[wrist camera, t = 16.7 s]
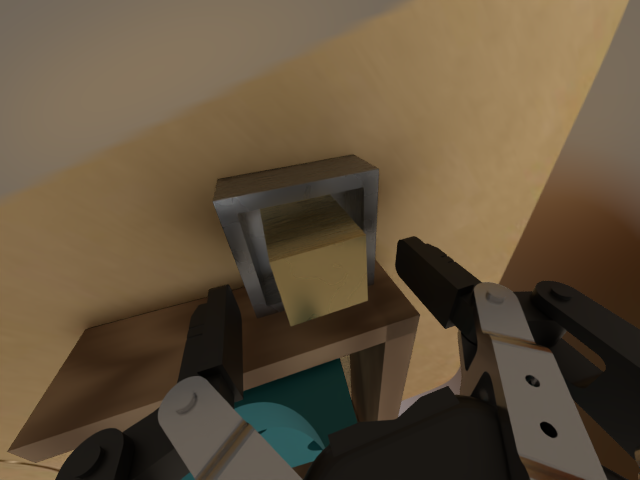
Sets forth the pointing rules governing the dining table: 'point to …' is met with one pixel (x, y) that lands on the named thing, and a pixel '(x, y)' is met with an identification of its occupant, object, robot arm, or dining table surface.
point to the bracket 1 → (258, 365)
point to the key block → (315, 257)
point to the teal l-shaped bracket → (299, 411)
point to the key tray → (285, 187)
